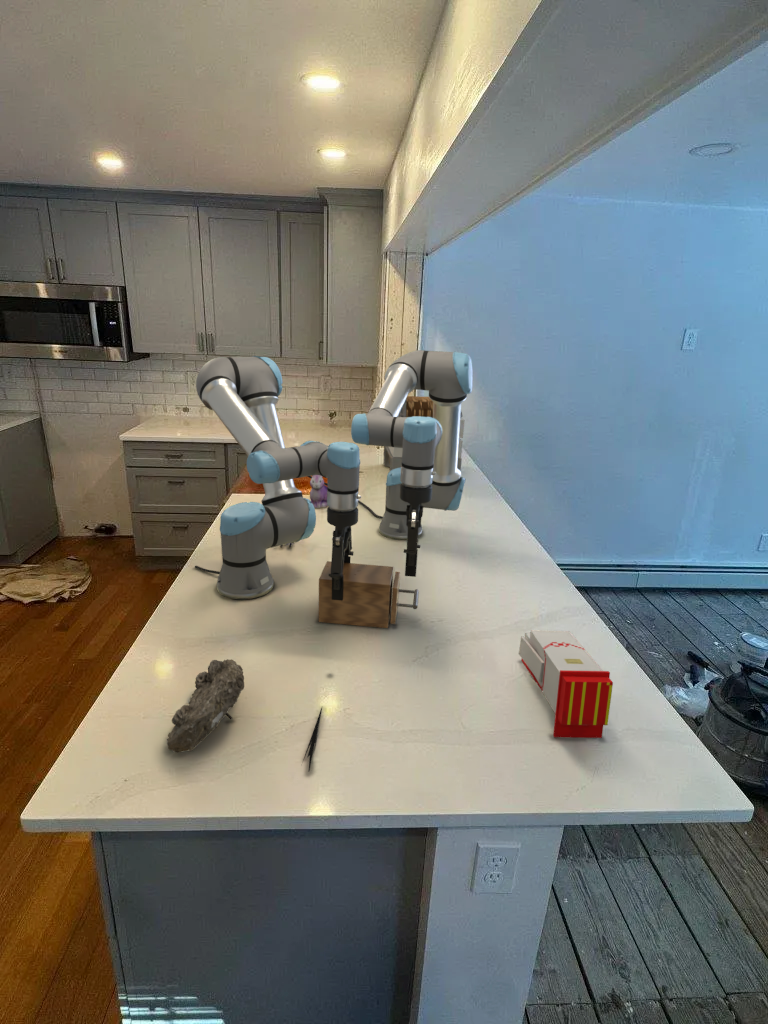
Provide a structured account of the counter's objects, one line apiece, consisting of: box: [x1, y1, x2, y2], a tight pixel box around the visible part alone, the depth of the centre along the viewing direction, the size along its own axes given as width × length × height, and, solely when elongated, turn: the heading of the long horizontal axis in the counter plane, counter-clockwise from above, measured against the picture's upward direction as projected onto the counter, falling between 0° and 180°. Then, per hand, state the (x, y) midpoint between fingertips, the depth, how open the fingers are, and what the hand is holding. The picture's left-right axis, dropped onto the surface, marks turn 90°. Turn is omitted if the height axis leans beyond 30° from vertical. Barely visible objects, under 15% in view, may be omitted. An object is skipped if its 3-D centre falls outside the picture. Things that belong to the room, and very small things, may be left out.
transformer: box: [383, 395, 465, 473], centre depth 268 cm, size 34×33×41 cm
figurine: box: [309, 475, 328, 509], centre depth 223 cm, size 9×10×15 cm
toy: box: [518, 629, 614, 739], centre depth 118 cm, size 12×13×30 cm
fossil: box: [166, 658, 245, 754], centre depth 106 cm, size 22×10×15 cm
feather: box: [301, 673, 332, 771], centre depth 108 cm, size 2×28×2 cm
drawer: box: [390, 571, 420, 625], centre depth 144 cm, size 21×9×10 cm, turn 84°
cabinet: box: [318, 560, 395, 629], centre depth 144 cm, size 17×10×12 cm, turn 84°
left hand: (341, 588), depth 144 cm, fingers closed on cabinet, 10 cm apart
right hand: (410, 574), depth 141 cm, fingers closed
